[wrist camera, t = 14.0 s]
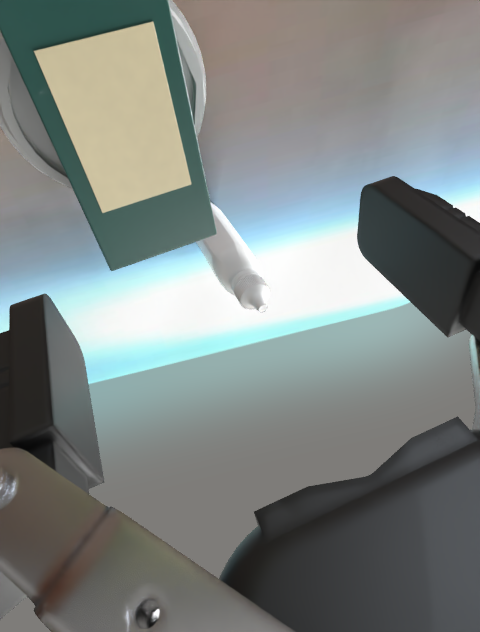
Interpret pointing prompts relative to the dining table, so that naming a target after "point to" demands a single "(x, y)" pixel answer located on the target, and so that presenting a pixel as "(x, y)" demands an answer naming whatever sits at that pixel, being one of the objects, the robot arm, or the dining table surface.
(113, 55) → the tea packet
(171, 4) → the disposable coffee cup
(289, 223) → the dining table surface
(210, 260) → the eye dropper bottle
